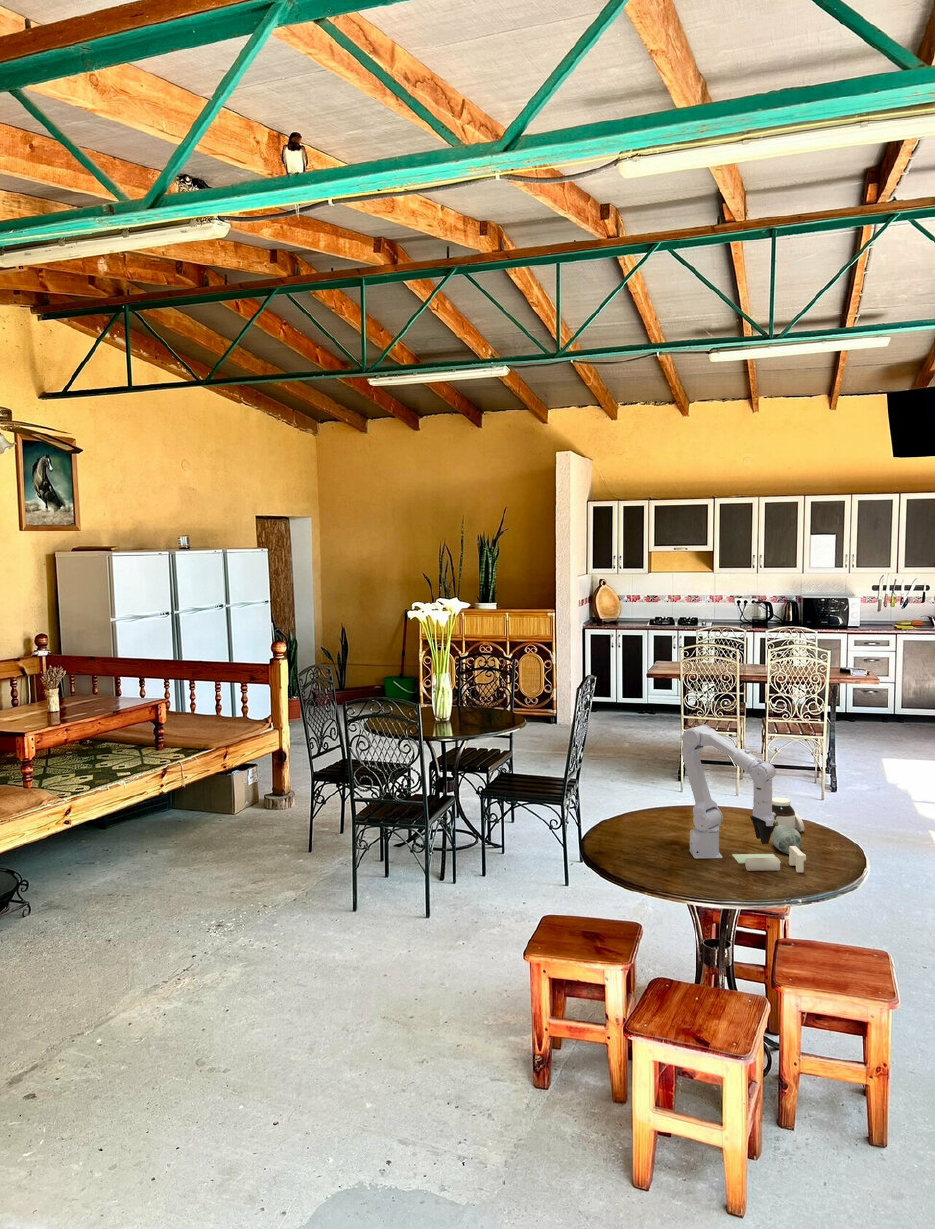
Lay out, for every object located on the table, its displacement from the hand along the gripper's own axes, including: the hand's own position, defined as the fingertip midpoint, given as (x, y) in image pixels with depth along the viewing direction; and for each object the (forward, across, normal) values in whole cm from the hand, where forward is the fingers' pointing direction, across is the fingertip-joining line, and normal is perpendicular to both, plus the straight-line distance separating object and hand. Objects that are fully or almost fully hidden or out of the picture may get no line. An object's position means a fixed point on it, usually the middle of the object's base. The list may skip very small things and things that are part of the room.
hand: (762, 841), depth 282 cm
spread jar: (+10, +39, -21) cm, 45 cm away
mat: (+9, +10, -1) cm, 13 cm away
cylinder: (+10, 0, 0) cm, 10 cm away
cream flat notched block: (+9, 0, -11) cm, 14 cm away
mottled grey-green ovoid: (+10, +18, -14) cm, 25 cm away
